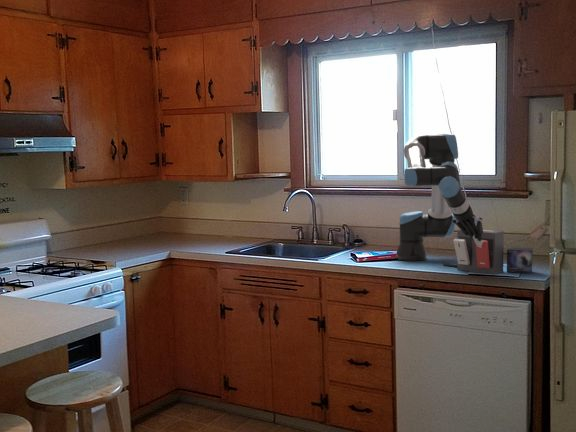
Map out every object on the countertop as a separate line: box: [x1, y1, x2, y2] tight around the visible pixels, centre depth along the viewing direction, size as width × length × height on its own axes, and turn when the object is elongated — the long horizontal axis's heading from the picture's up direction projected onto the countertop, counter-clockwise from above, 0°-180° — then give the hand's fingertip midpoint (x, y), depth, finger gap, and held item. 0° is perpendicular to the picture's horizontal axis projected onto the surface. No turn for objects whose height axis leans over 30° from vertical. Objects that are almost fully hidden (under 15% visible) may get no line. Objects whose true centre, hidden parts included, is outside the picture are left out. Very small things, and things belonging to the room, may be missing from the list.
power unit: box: [442, 229, 505, 275], centre depth 293 cm, size 28×9×18 cm, turn 46°
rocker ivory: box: [453, 238, 470, 265], centre depth 288 cm, size 5×2×12 cm, turn 46°
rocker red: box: [476, 240, 490, 268], centre depth 281 cm, size 5×2×12 cm, turn 46°
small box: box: [506, 246, 533, 275], centre depth 285 cm, size 11×6×10 cm, turn 69°
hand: (480, 244), depth 278 cm, fingers closed
